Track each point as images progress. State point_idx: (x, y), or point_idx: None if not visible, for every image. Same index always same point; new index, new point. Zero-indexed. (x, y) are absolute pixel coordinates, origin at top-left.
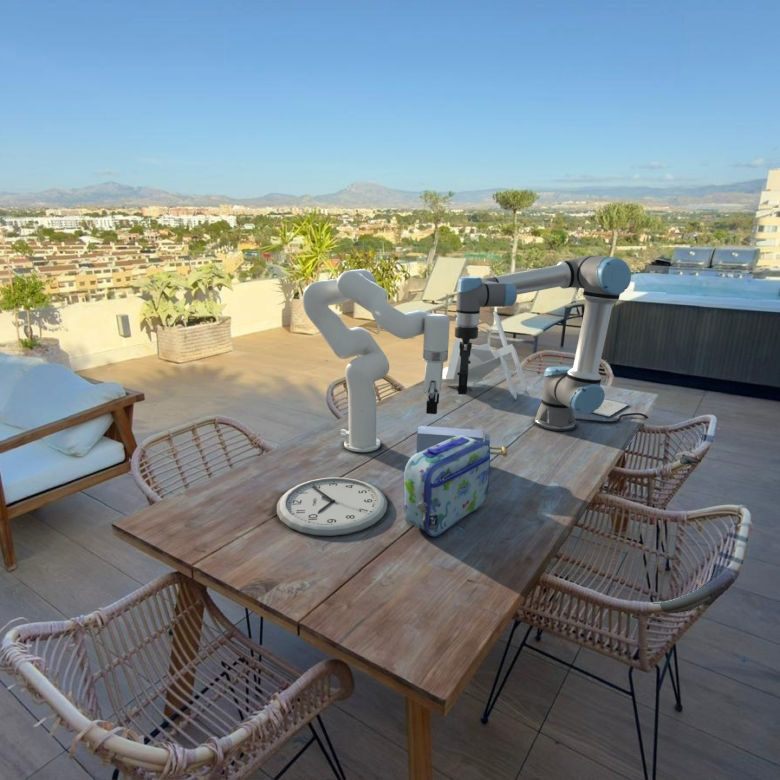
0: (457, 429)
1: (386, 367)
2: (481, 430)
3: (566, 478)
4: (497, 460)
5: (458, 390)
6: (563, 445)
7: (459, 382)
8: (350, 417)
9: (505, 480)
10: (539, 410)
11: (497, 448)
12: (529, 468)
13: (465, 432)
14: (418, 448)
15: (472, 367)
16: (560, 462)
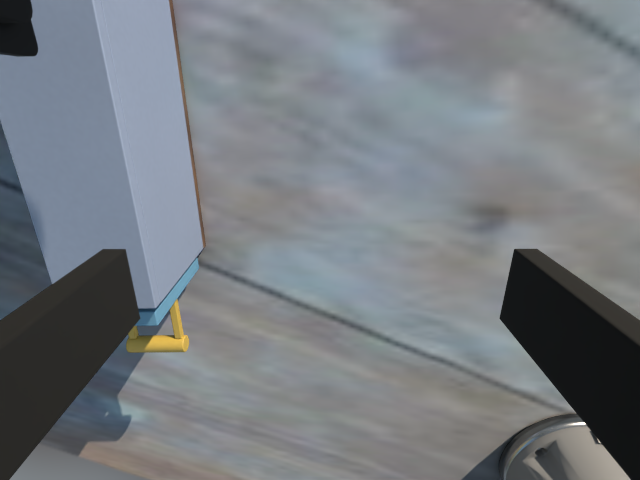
0: (115, 192)
1: None
2: (149, 302)
3: (179, 441)
4: (240, 295)
5: (81, 267)
6: (392, 459)
7: (12, 323)
8: None
9: None
10: (596, 464)
11: (173, 324)
12: (210, 372)
13: (90, 232)
14: None
15: None
16: (273, 440)
